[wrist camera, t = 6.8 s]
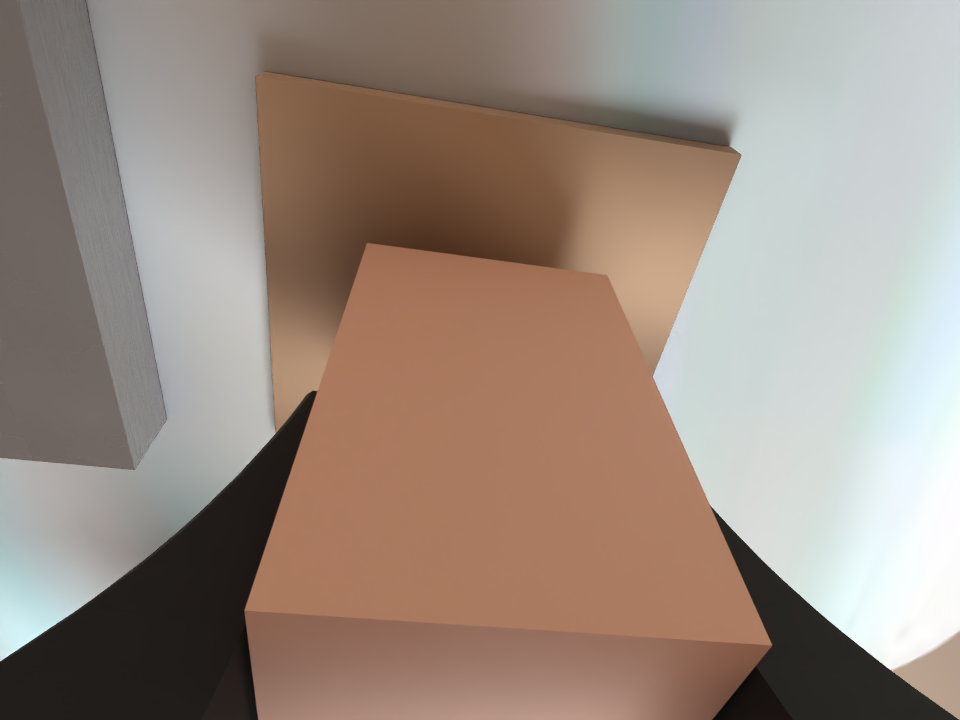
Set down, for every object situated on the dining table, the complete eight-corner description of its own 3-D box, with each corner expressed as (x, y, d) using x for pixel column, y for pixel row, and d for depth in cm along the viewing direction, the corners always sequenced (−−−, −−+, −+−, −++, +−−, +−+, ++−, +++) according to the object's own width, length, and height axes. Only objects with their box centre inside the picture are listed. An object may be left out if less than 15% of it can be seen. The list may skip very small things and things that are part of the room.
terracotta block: (553, 448, 15) (622, 831, 9) (357, 428, 15) (270, 819, 8) (607, 275, 12) (772, 646, 6) (366, 243, 12) (244, 610, 5)
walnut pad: (605, 468, 18) (609, 483, 18) (281, 437, 17) (276, 451, 17) (731, 147, 13) (741, 155, 12) (264, 71, 12) (255, 76, 11)
